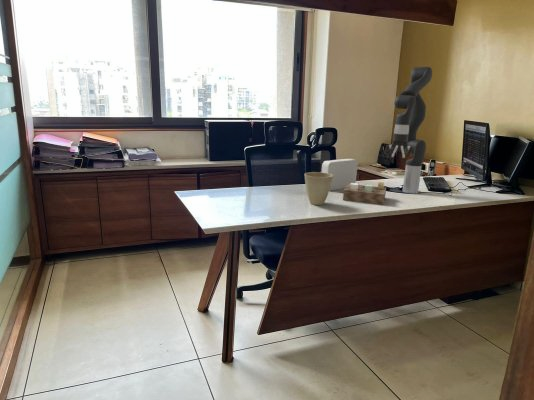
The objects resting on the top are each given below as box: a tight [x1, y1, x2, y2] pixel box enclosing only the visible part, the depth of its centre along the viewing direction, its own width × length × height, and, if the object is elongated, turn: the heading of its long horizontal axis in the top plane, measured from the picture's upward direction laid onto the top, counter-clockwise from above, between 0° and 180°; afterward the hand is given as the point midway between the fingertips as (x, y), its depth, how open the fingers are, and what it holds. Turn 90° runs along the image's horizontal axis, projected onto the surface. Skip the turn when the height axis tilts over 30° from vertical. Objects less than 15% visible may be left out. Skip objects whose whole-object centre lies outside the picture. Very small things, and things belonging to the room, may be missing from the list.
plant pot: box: [304, 171, 333, 206], centre depth 202 cm, size 15×15×16 cm
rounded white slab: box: [321, 158, 358, 192], centre depth 243 cm, size 29×8×18 cm, turn 129°
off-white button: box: [350, 182, 359, 190], centre depth 214 cm, size 4×4×5 cm
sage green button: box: [364, 183, 374, 192], centre depth 212 cm, size 4×4×5 cm
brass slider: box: [377, 181, 385, 189], centre depth 217 cm, size 3×3×4 cm
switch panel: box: [342, 184, 387, 206], centre depth 217 cm, size 22×18×6 cm
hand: (397, 163), depth 211 cm, fingers open, 4 cm apart
